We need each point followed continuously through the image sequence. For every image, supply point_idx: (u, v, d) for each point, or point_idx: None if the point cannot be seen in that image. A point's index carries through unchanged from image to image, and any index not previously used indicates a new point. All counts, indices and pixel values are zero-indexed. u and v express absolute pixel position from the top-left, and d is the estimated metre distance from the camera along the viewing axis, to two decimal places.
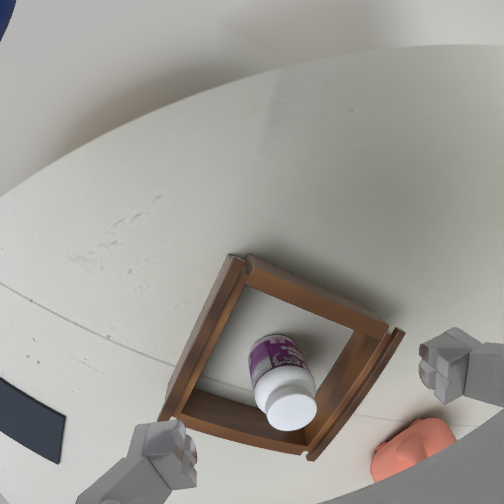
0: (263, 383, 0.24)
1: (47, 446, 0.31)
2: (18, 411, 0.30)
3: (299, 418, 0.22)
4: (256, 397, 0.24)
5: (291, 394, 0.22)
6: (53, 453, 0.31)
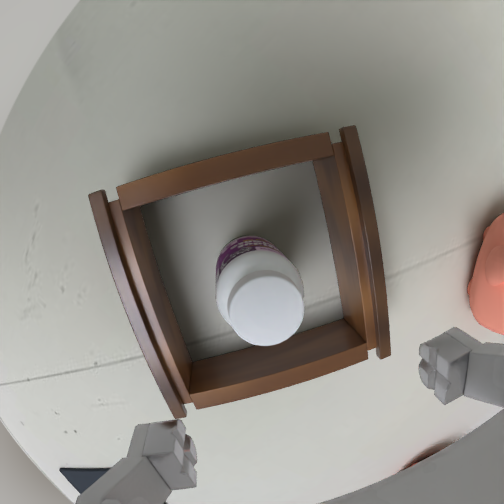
0: (218, 300, 0.18)
1: None
2: None
3: (283, 313, 0.16)
4: (228, 322, 0.19)
5: (239, 288, 0.16)
6: None
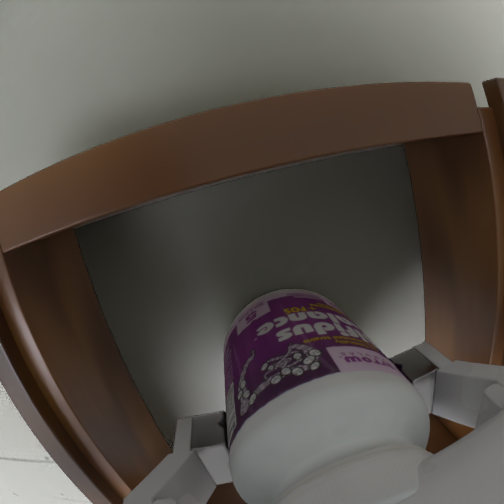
0: (238, 486, 0.06)
1: None
2: None
3: None
4: None
5: None
6: None
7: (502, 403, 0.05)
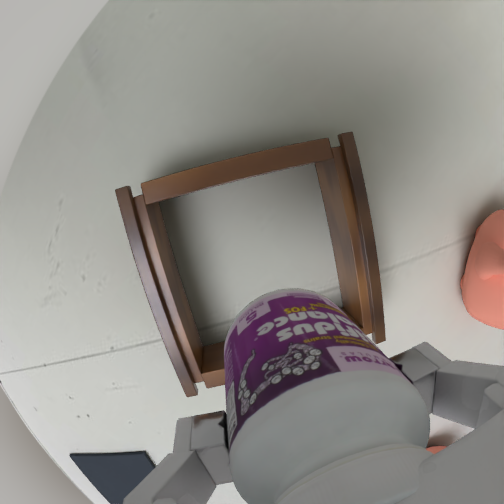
0: (238, 485, 0.06)
1: None
2: (111, 474, 0.32)
3: None
4: None
5: None
6: None
7: (502, 403, 0.05)
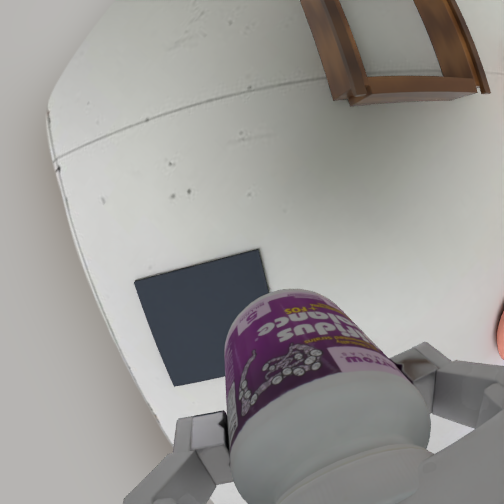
0: (239, 486, 0.06)
1: None
2: (196, 308, 0.29)
3: None
4: None
5: None
6: None
7: (502, 403, 0.05)
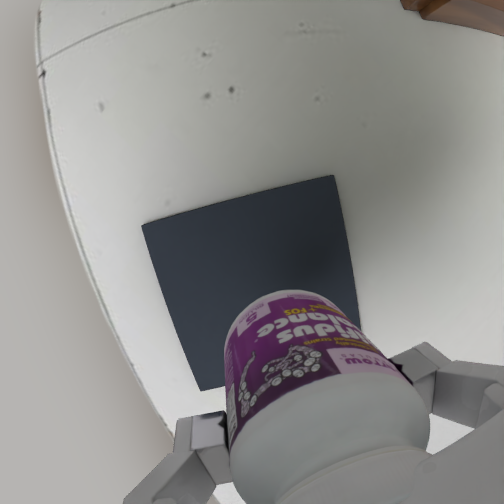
0: (238, 487, 0.06)
1: None
2: (239, 266, 0.19)
3: None
4: None
5: None
6: (347, 317, 0.21)
7: (502, 403, 0.05)
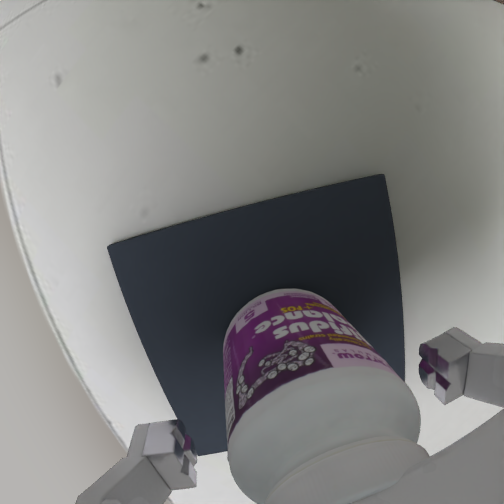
0: (236, 476, 0.06)
1: None
2: None
3: None
4: (256, 501, 0.07)
5: None
6: (391, 364, 0.15)
7: None
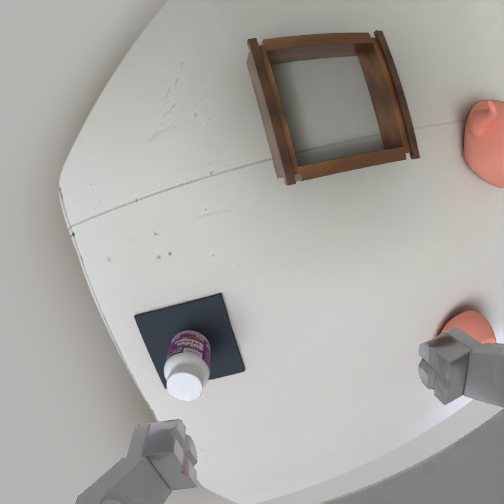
0: None
1: (224, 353, 0.42)
2: None
3: (192, 388, 0.32)
4: None
5: (170, 376, 0.31)
6: (234, 358, 0.42)
7: None
